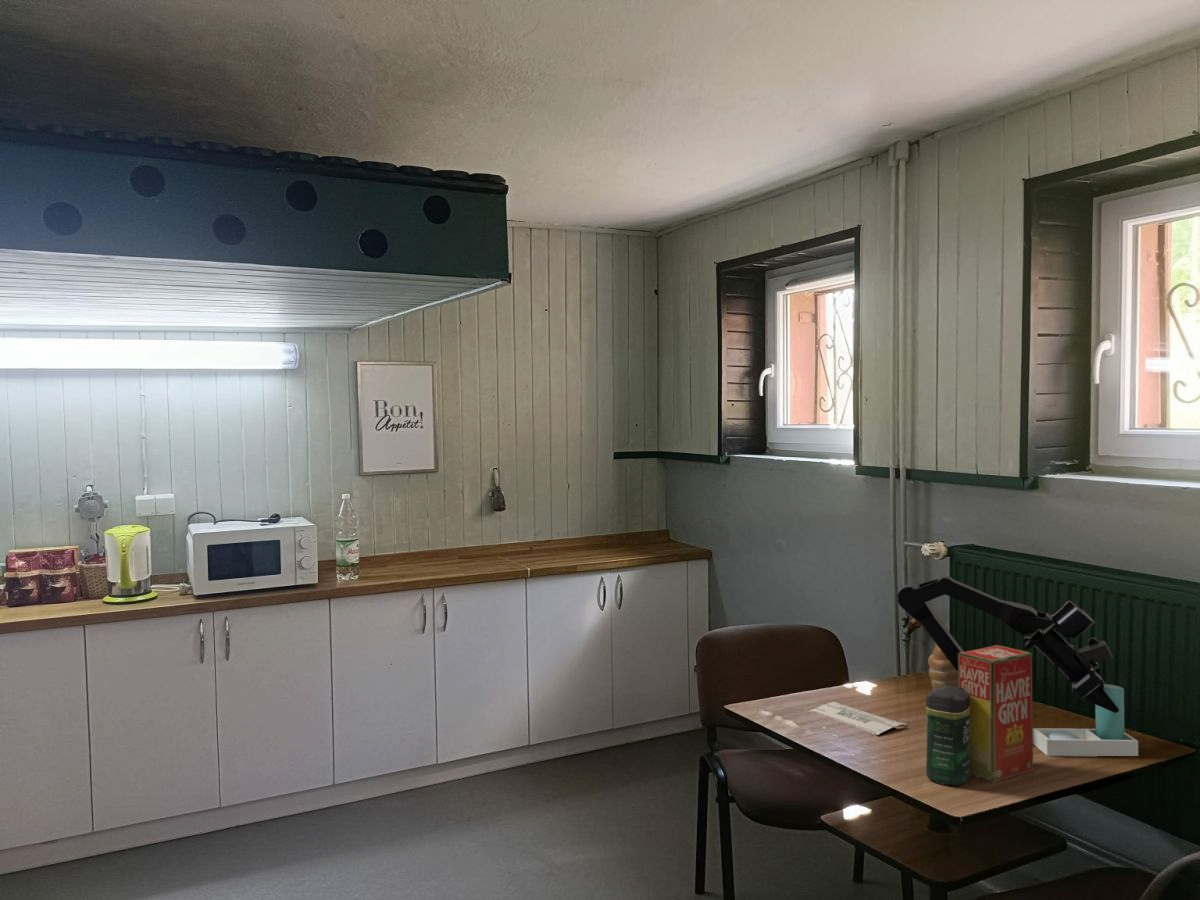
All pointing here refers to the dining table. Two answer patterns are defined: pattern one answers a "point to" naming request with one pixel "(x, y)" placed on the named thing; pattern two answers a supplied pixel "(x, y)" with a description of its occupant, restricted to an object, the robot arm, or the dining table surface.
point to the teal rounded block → (1111, 716)
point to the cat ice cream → (941, 670)
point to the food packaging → (999, 710)
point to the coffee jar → (948, 735)
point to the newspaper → (857, 718)
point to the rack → (1081, 743)
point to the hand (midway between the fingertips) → (1115, 705)
